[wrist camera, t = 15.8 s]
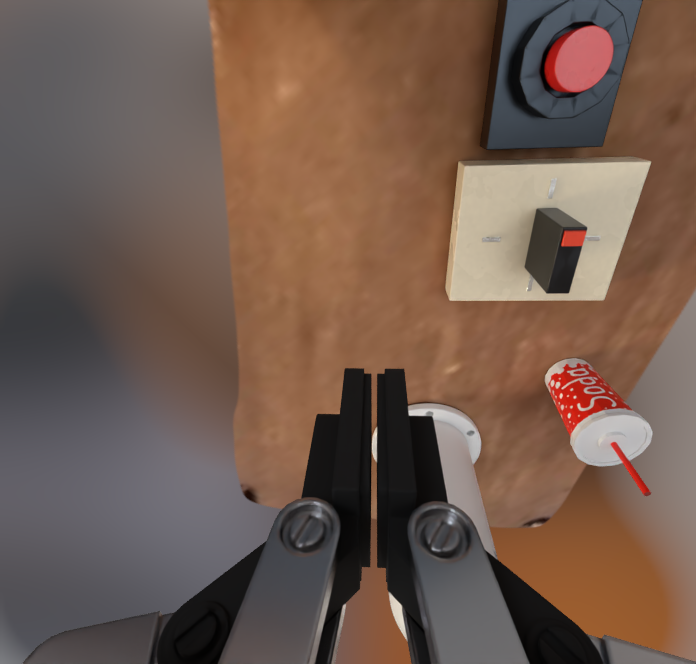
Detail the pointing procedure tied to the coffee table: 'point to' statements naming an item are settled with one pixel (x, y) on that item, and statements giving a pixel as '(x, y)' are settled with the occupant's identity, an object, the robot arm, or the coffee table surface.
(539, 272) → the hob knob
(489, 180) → the panel
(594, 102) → the power box
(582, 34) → the power button
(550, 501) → the coffee table surface
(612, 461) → the beverage cup
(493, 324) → the coffee table surface
